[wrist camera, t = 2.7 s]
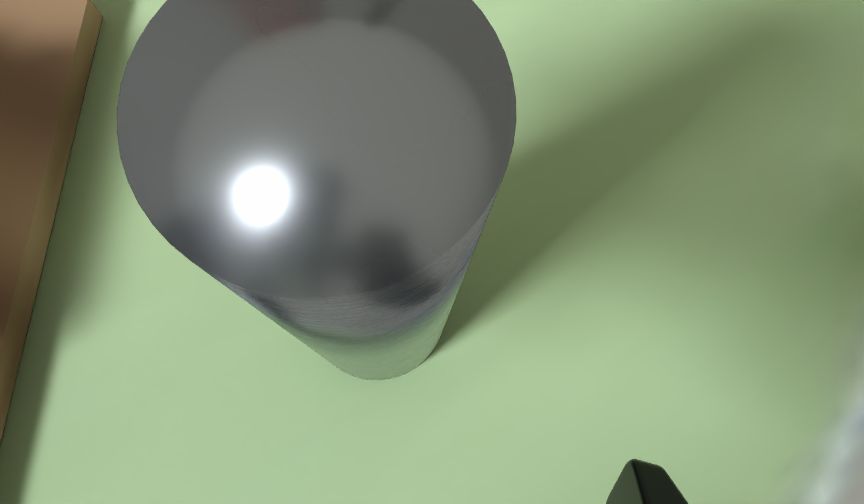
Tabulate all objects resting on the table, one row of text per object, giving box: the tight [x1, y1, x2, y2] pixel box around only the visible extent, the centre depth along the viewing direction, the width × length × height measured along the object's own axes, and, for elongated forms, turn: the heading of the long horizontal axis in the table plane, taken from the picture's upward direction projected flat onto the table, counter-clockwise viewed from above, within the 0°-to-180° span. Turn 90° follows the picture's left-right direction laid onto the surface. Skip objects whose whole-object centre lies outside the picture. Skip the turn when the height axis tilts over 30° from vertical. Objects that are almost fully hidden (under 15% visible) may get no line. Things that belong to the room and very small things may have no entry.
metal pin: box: [117, 0, 516, 380], centre depth 13 cm, size 4×4×13 cm
